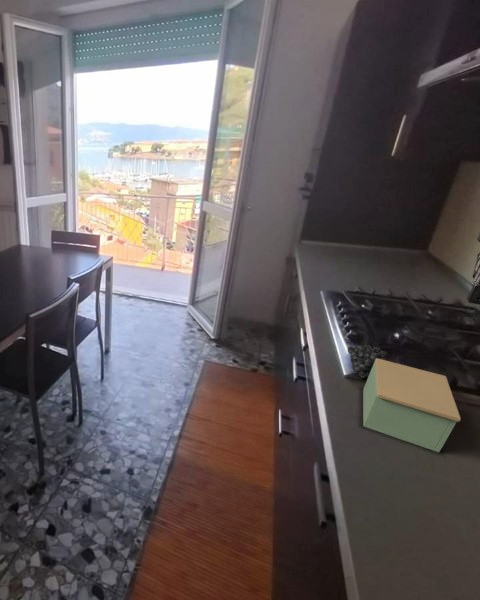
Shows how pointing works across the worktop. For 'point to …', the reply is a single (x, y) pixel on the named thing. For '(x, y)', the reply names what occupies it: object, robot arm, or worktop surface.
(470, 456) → the worktop surface
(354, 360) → the fruit
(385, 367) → the bin lid
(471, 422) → the worktop surface
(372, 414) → the bin
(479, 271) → the robot arm
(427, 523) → the worktop surface
